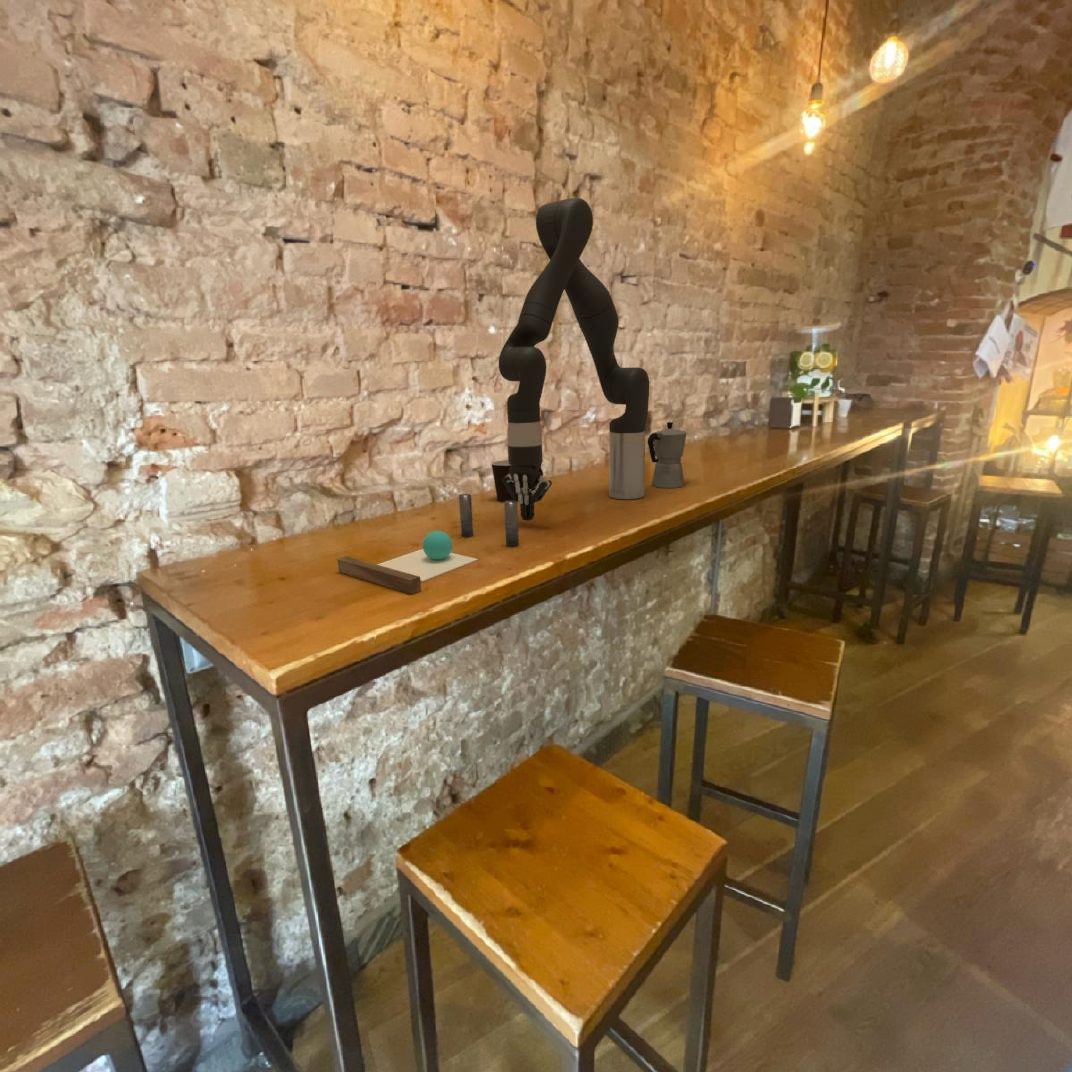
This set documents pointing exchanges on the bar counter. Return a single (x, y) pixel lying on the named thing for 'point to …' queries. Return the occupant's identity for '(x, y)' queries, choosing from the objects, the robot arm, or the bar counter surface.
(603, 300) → the robot arm
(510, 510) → the post
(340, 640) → the bar counter surface
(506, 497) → the coffee mug
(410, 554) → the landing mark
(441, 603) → the bar counter surface
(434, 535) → the ball
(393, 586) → the wall
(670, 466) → the coffeepot
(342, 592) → the bar counter surface
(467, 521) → the post
